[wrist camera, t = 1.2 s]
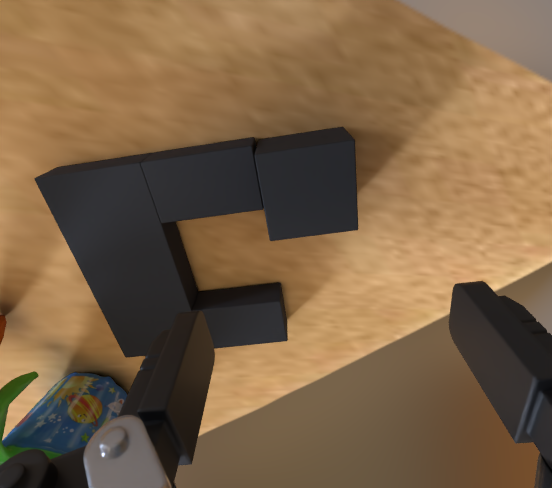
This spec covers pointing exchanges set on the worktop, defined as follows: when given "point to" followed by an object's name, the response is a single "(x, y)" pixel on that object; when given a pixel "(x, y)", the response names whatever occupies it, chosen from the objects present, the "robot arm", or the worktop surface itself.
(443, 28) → the worktop surface
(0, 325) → the carrot
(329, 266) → the worktop surface
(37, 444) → the snack cup
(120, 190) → the base pad
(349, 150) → the small block
